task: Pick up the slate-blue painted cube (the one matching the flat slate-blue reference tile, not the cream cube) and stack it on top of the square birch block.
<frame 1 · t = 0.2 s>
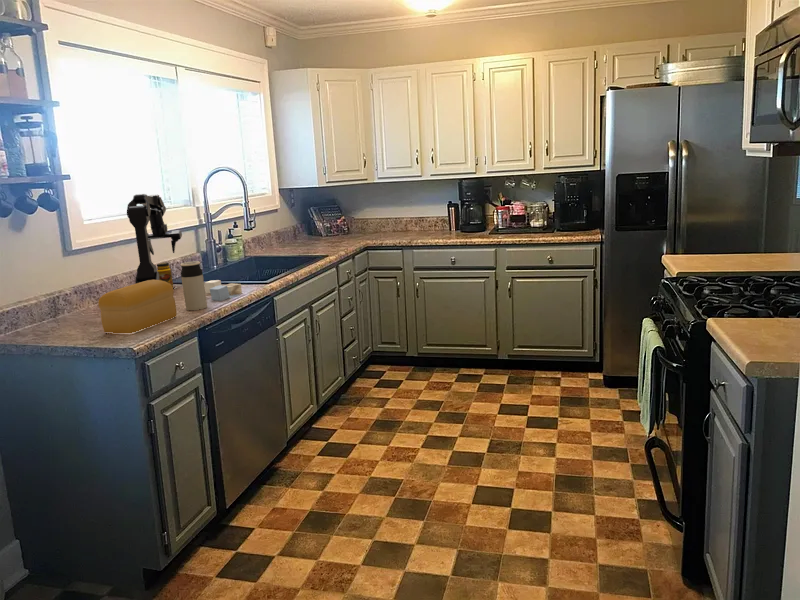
hand: (163, 253, 309), 15 cm above the worktop, tool pointing down, fingers open, 9 cm apart
condiment: (165, 289, 307), on the worktop
cream cube: (213, 292, 290), on the worktop
birch block: (231, 294, 282), on the worktop
reference tile: (231, 297, 277), on the worktop
bread: (142, 326, 239), on the worktop
travel mug: (196, 309, 260), on the worktop
blue cube: (220, 298, 273), on the worktop, tilted 6°, touching reference tile
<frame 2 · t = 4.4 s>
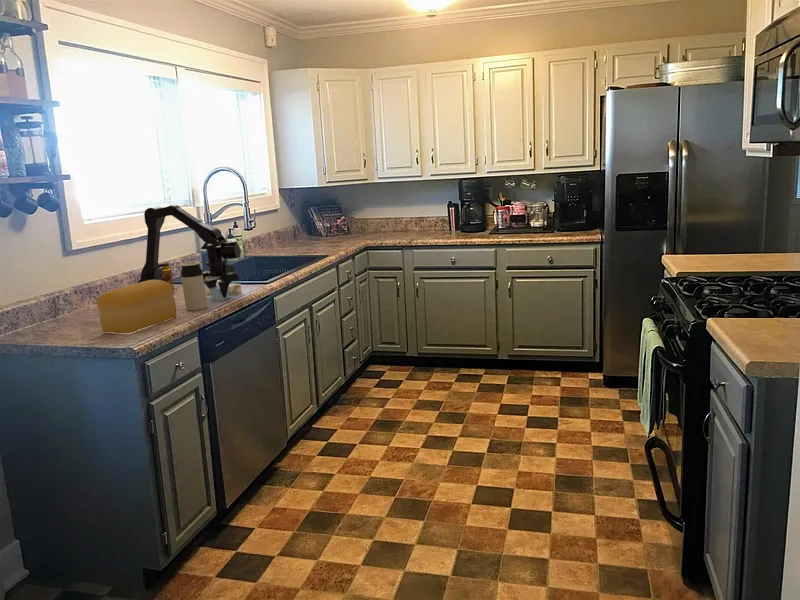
hand: (220, 297, 273), 1 cm above the worktop, tool pointing down, fingers closed on blue cube, 5 cm apart
blue cube: (220, 298, 273), on the worktop, tilted 6°, touching gripper
everything else where it was.
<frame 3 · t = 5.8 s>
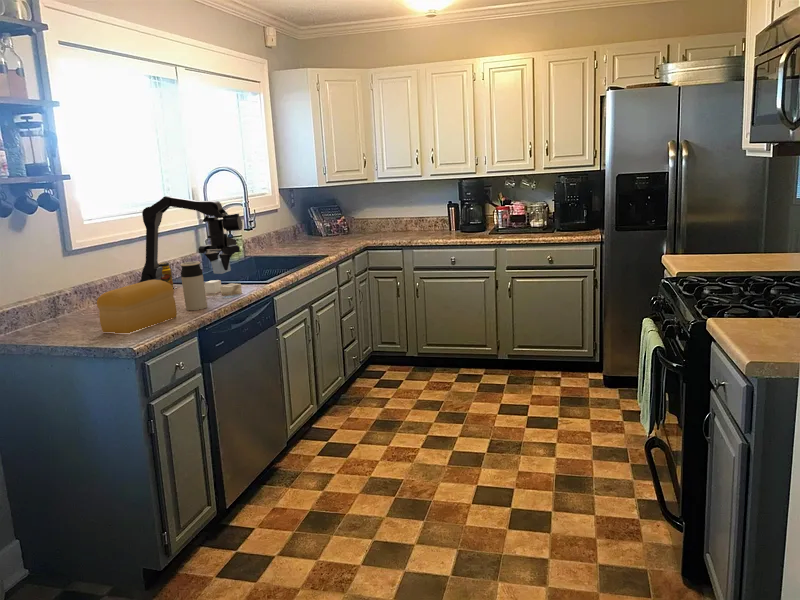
hand: (221, 270, 274), 12 cm above the worktop, tool pointing down, fingers closed on blue cube, 5 cm apart
blue cube: (222, 271, 275), point 11 cm above the worktop, tilted 6°, touching gripper
everything else where it was.
when the fingers open (6 cm above the worktop, at t = 7.5 s): blue cube drops 1 cm, resting on birch block.
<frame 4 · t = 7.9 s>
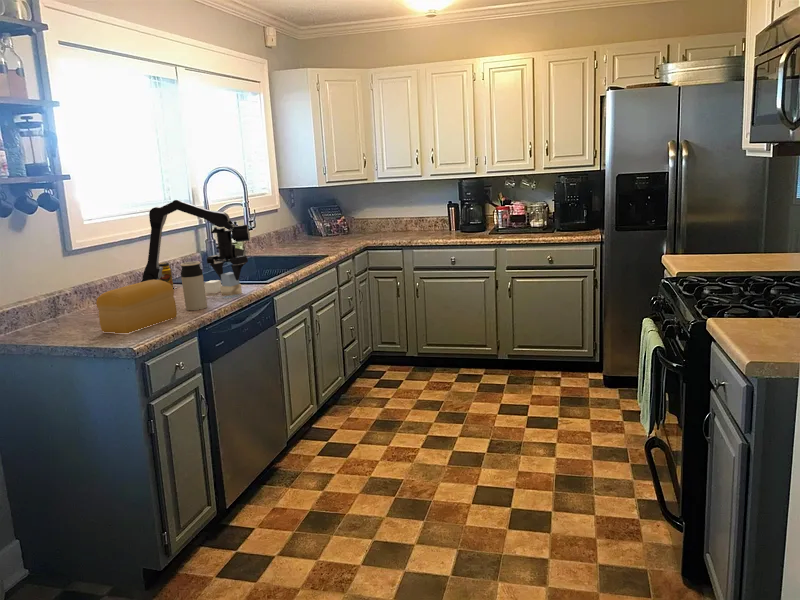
hand: (229, 279, 281), 6 cm above the worktop, tool pointing down, fingers open, 9 cm apart
blue cube: (230, 285, 282), point 4 cm above the worktop, touching birch block
everything else where it was.
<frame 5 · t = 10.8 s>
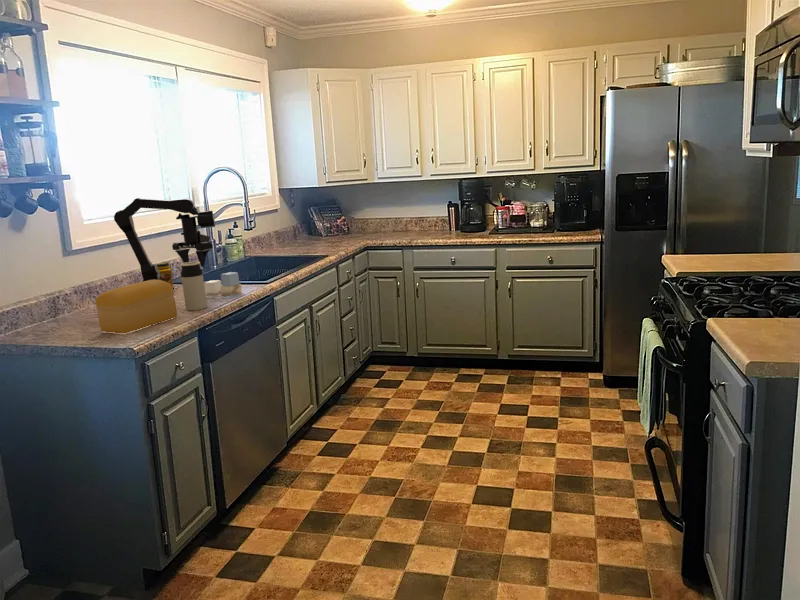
hand: (195, 266, 280), 13 cm above the worktop, tool pointing down, fingers open, 9 cm apart
at the end: blue cube 0.2 cm off-centre on the birch block, point 4.0 cm above the birch block's base; blue cube tilted 0°; the gripper is holding nothing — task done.
